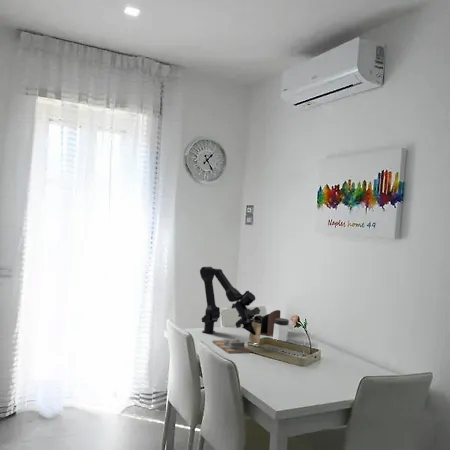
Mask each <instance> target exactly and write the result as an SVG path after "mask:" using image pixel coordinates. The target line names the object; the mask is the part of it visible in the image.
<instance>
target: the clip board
mask: <svg viewBox="0 0 450 450" xmlns="http://www.w3.org/2000/svg"><path fill="white" fill-rule="evenodd" d="M211 341H212V343H213V345H216V347H219V348H220V349H221V350H223V351H224V352H225V353H227V354H236V353H238V354H240V353H252V352H253V349H252V348H250V347H248V346H247V345H245V342H244V341H243V340H240V339H239V338H237V337H235V338H234V339H228V338H224V339H217V340H216V339H215V340H214V339H212V340H211ZM249 348H250V349H249Z"/></svg>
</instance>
